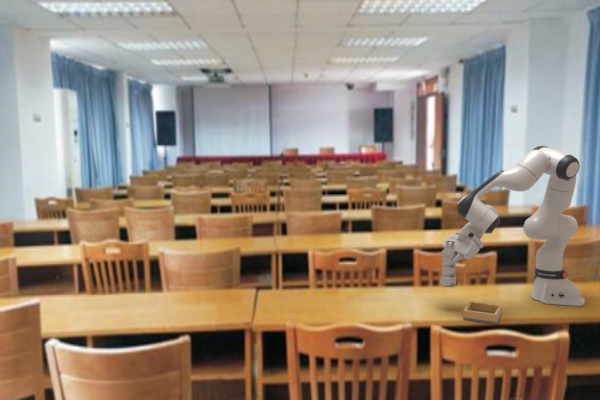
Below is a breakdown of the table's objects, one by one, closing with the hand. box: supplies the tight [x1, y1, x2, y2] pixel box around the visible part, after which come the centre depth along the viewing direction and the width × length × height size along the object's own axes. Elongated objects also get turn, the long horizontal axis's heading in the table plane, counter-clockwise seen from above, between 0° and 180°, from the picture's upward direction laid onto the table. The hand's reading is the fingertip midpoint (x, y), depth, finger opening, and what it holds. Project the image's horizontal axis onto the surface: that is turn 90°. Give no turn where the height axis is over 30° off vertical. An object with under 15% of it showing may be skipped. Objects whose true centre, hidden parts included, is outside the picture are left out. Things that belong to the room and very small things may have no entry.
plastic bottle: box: [439, 241, 457, 288], centre depth 239 cm, size 6×7×20 cm
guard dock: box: [462, 301, 502, 325], centre depth 230 cm, size 13×13×4 cm
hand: (448, 260), depth 238 cm, fingers closed on plastic bottle, 6 cm apart
